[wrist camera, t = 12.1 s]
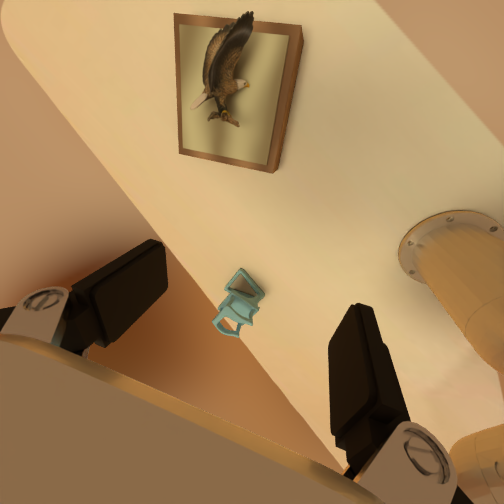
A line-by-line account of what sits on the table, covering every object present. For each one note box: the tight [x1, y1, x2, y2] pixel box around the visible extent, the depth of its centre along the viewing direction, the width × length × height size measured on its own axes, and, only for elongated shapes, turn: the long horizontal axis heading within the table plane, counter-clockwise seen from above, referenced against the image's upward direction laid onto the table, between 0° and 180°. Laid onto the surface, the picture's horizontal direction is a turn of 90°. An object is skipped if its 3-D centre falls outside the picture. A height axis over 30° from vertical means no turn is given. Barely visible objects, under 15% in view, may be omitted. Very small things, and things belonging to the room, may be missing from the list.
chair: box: [212, 268, 265, 338], centre depth 43 cm, size 8×8×12 cm
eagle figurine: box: [190, 11, 254, 127], centre depth 23 cm, size 8×7×9 cm
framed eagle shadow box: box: [174, 13, 304, 174], centre depth 28 cm, size 15×15×5 cm
